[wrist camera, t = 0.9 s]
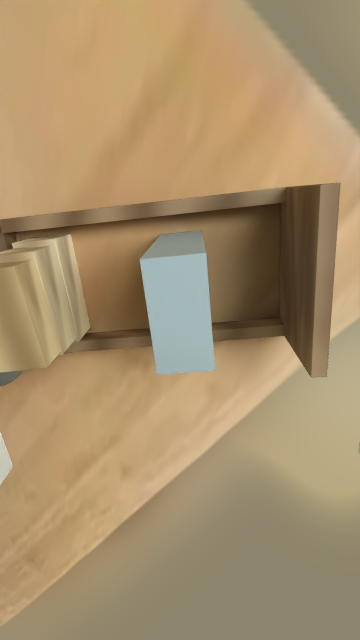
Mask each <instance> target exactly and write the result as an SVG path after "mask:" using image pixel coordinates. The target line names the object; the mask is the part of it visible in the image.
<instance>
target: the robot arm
mask: <svg viewBox="0 0 360 640" xmlns="http://www.w3.org/2000/svg"><path fill="white" fill-rule="evenodd" d="M359 453H360V444H359ZM12 467H13V465H12V462H11V459H10V457H9V454H8V451H7V449H6V446H5V443H4V441H3V438H2V435H1V433H0V485H1V483H2V482H3V480H4V479H5V477H6V476H7V474H8V473H9V471H10V470H11V468H12Z"/></svg>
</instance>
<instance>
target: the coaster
mask: <svg viewBox="0 0 360 640" xmlns="http://www.w3.org/2000/svg"><path fill="white" fill-rule="evenodd" d="M21 372H22V370H20V371H10V372H1V373H0V386H2V385H5V384H8V383H10V382H11V381H13V380H14V379H15V378H16V377H17V376H18V375H19V374H20V373H21Z"/></svg>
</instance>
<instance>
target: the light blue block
mask: <svg viewBox="0 0 360 640" xmlns="http://www.w3.org/2000/svg"><path fill="white" fill-rule="evenodd" d="M140 266H141V272H142V279H143V285H144V292H145V299H146V305H147V312H148V318H149V325H150V332H151V338H152V345H153V351H154V358H155V364H156V371H157V375H160V374H174V373H188V372H202V371H215V363H214V350H213V337H212V324H211V310H210V297H209V284H208V271H207V258H206V250H205V245H204V240H203V235H202V231H201V230H197V231H188V232H178V233H169V234H160V236H159V237H158V238H157V239H156V240H155V242H154V243H153V244H152V245H151V246H150V248H149V249H148V250H147V251H146V252H145V254H144V255H143V256H142V257H141V258H140Z"/></svg>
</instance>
